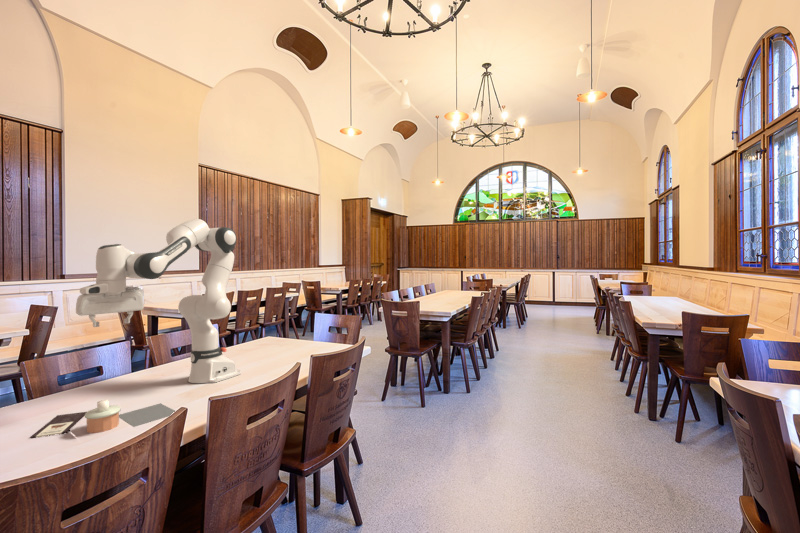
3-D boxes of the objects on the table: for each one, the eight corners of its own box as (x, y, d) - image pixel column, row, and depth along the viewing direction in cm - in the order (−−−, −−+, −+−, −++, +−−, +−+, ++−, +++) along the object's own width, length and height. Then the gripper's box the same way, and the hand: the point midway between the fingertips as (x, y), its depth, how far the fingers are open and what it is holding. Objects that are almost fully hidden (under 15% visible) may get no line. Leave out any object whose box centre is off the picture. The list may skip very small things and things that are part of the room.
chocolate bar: (88, 411, 137) (66, 431, 120) (88, 414, 137) (66, 434, 120) (57, 415, 133) (30, 436, 117) (57, 418, 133) (30, 439, 117)
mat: (160, 404, 144) (160, 403, 144) (179, 413, 135) (179, 412, 135) (116, 416, 133) (116, 415, 133) (133, 427, 123) (133, 426, 123)
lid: (114, 405, 130) (114, 394, 130) (125, 411, 124) (125, 400, 124) (80, 414, 122) (80, 402, 122) (90, 421, 117) (90, 409, 117)
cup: (113, 421, 129) (113, 406, 129) (122, 427, 124) (121, 411, 124) (83, 429, 122) (83, 414, 122) (91, 436, 118) (91, 420, 118)
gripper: (140, 286, 150) (140, 320, 150) (74, 289, 134) (74, 328, 134) (146, 286, 147) (147, 322, 147) (79, 289, 130) (79, 329, 130)
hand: (111, 325), depth 140 cm, fingers open, 8 cm apart
